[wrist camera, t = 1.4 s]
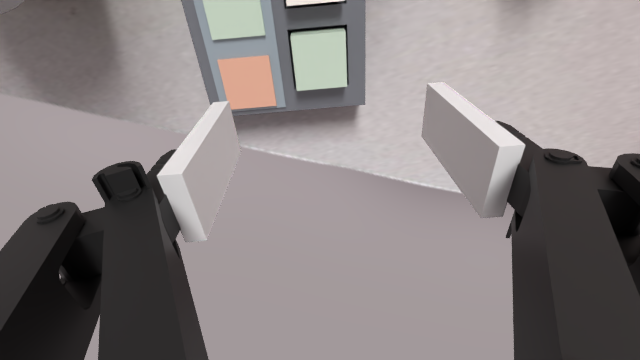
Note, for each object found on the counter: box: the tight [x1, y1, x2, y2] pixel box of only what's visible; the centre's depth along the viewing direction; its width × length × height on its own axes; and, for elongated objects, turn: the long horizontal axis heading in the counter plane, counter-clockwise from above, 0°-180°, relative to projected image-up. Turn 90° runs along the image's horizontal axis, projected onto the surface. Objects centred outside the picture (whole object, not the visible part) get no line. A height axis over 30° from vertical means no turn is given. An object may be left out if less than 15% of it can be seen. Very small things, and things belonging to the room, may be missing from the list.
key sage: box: [290, 27, 347, 91], centre depth 27 cm, size 4×4×2 cm
